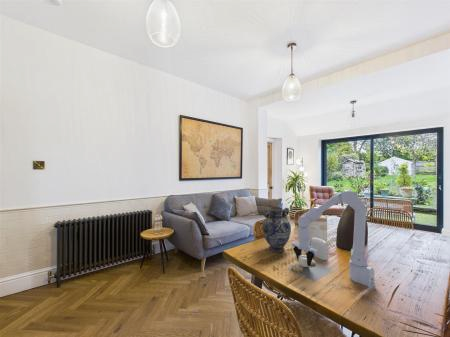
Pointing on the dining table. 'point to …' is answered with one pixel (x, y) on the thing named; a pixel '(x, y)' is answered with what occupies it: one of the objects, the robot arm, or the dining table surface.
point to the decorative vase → (276, 228)
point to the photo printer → (320, 248)
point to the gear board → (311, 270)
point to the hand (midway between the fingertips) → (304, 263)
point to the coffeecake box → (319, 229)
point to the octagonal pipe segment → (302, 260)
